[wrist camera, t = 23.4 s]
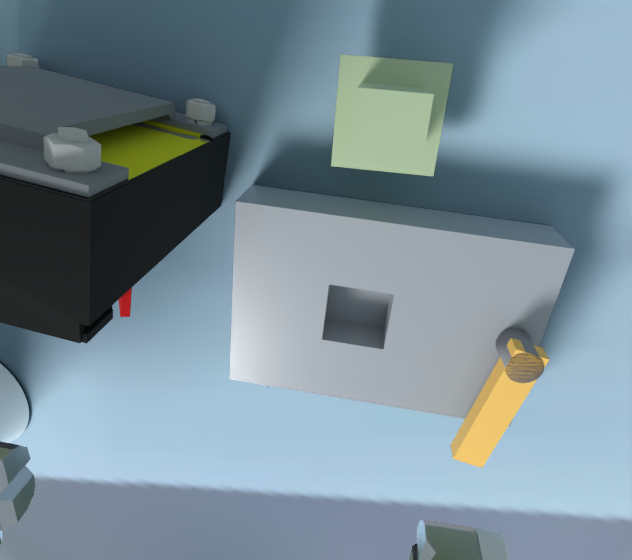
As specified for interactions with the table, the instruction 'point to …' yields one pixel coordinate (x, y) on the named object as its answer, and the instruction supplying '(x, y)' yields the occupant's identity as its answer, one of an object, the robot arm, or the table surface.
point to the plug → (389, 114)
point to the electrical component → (94, 193)
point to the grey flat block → (383, 297)
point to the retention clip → (499, 396)
